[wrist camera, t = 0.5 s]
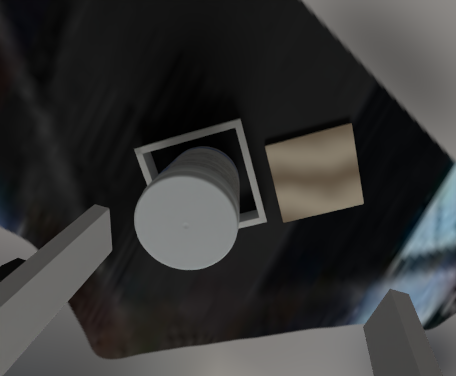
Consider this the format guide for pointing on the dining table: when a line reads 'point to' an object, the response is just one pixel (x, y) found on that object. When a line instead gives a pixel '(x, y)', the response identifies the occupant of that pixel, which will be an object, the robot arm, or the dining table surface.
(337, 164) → the birch board
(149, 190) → the supplement tub
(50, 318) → the robot arm
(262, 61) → the dining table surface
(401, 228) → the dining table surface
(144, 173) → the grey square frame
